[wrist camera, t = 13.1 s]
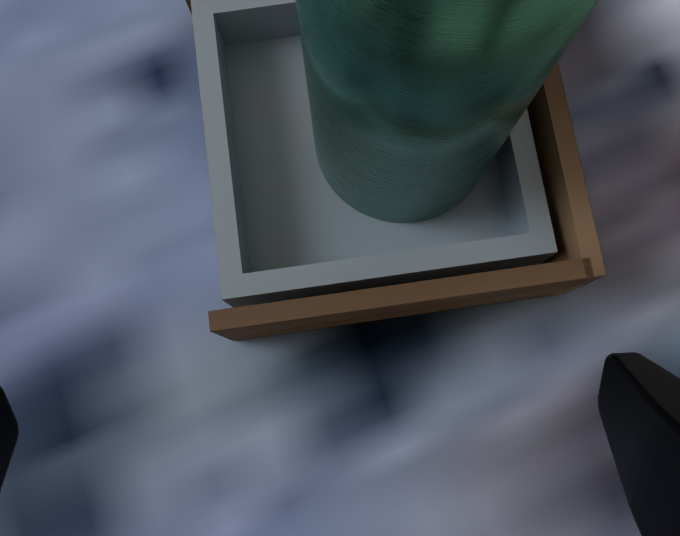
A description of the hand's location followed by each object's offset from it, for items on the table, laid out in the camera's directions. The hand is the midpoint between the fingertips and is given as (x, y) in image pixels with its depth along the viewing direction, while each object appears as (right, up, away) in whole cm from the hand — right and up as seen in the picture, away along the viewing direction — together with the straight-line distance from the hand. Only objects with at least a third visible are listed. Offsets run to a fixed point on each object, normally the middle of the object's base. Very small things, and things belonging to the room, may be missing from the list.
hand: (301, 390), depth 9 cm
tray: (+1, +5, +10) cm, 11 cm away
